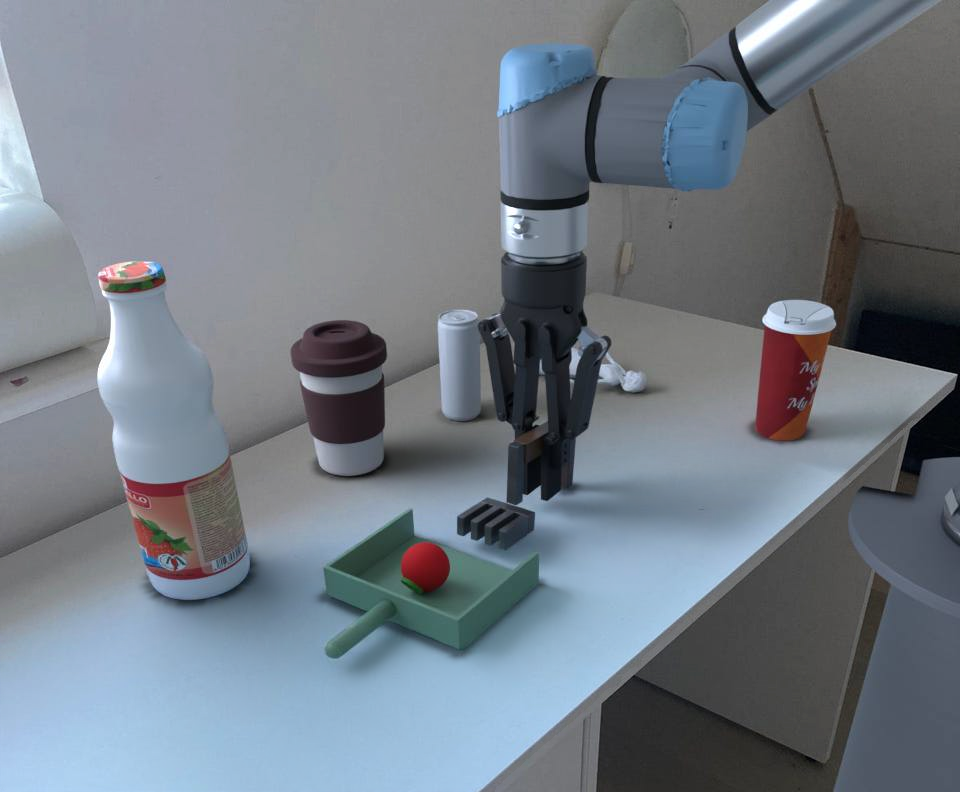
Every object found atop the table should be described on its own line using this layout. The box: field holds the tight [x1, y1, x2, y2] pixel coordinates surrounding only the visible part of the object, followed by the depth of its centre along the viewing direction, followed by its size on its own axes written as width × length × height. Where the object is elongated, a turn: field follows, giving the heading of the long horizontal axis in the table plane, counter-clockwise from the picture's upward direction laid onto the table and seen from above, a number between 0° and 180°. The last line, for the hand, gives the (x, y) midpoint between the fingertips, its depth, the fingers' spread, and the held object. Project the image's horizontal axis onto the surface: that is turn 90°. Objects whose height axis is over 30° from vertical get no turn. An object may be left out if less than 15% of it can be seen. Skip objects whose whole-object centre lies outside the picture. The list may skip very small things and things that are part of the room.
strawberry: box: [401, 542, 450, 595], centre depth 87 cm, size 4×4×4 cm
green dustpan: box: [322, 507, 540, 660], centre depth 85 cm, size 20×15×3 cm
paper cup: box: [755, 299, 837, 442], centre depth 109 cm, size 8×8×14 cm
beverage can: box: [437, 309, 482, 422], centre depth 115 cm, size 5×5×12 cm
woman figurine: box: [539, 346, 648, 394], centre depth 126 cm, size 12×4×18 cm
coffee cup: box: [290, 319, 388, 477], centre depth 105 cm, size 10×10×15 cm
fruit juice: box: [96, 260, 251, 601], centre depth 84 cm, size 9×9×28 cm
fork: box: [456, 420, 577, 551], centre depth 96 cm, size 16×6×8 cm, turn 146°
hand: (541, 491), depth 99 cm, fingers closed on fork, 2 cm apart
